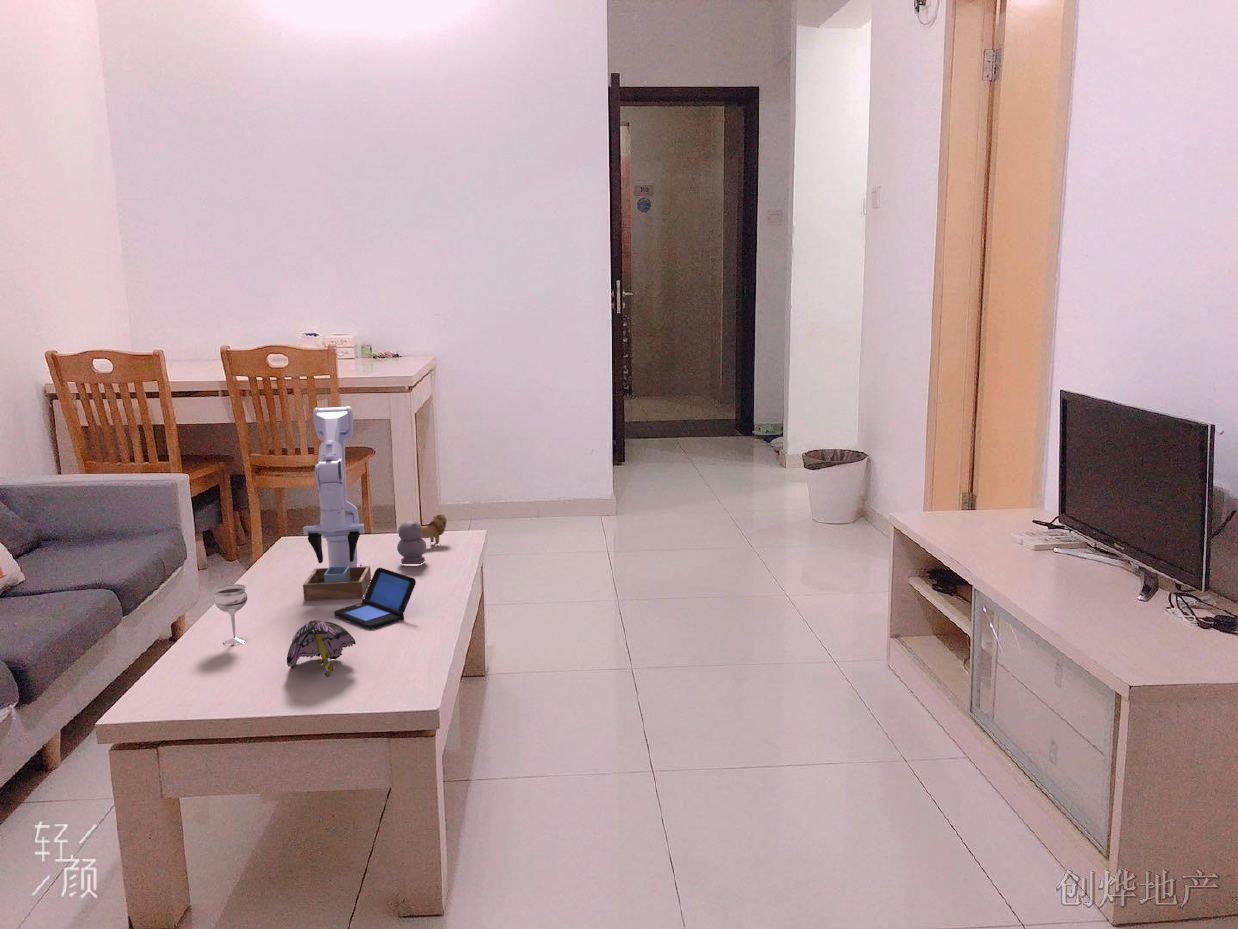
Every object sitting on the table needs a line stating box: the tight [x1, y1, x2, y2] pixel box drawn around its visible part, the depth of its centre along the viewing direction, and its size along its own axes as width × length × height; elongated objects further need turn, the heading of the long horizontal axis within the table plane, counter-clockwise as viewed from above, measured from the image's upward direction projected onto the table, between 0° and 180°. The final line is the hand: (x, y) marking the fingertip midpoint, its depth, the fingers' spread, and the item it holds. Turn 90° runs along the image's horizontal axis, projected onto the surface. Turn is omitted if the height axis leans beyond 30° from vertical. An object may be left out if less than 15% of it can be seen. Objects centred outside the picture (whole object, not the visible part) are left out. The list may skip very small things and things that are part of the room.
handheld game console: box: [333, 567, 417, 630], centre depth 237 cm, size 16×13×9 cm
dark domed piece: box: [286, 619, 357, 677], centre depth 205 cm, size 14×12×15 cm
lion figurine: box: [421, 513, 447, 545], centre depth 295 cm, size 15×5×9 cm, turn 132°
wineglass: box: [213, 583, 248, 645], centre depth 221 cm, size 7×7×12 cm
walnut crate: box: [302, 565, 372, 601], centre depth 257 cm, size 14×14×4 cm
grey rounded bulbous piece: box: [396, 518, 427, 564], centre depth 279 cm, size 8×8×12 cm
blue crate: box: [324, 566, 351, 583], centre depth 256 cm, size 7×5×4 cm
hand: (336, 561), depth 256 cm, fingers open, 7 cm apart
